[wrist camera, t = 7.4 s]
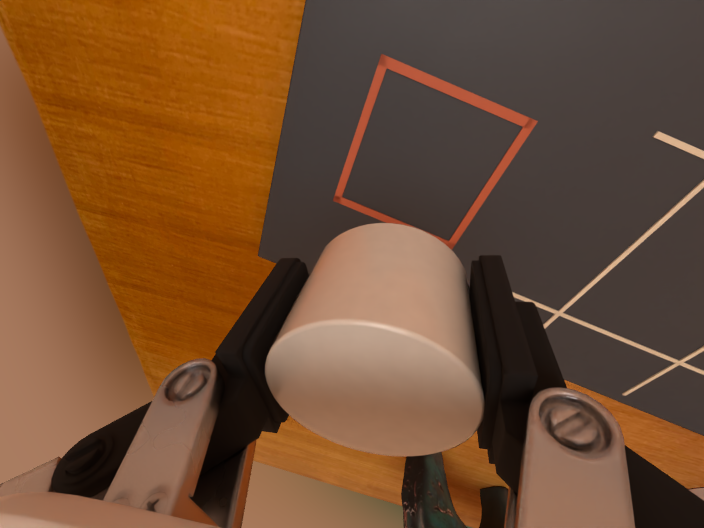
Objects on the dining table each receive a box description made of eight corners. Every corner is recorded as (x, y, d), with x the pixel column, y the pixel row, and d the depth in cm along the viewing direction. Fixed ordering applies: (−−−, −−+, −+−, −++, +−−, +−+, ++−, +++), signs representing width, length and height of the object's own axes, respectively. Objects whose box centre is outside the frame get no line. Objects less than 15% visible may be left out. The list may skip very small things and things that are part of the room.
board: (262, 249, 27) (257, 256, 26) (351, -203, 13) (345, -221, 12) (834, 480, 29) (846, 494, 28) (1477, 314, 15) (1544, 332, 14)
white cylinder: (299, 224, 10) (232, 316, 6) (474, 217, 8) (498, 327, 5) (329, 339, 12) (293, 443, 9) (465, 346, 11) (477, 470, 8)
